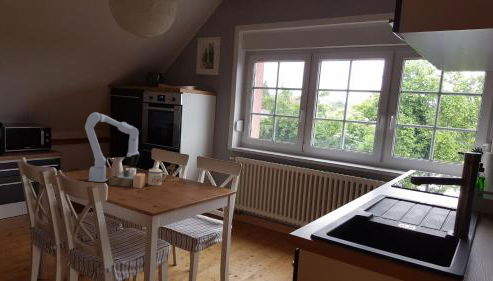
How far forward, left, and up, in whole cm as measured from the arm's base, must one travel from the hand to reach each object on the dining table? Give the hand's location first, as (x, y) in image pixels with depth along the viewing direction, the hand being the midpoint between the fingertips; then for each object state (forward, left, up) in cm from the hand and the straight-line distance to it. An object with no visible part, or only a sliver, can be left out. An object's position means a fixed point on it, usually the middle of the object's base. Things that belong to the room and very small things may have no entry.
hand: (132, 166), depth 230 cm
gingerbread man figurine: (+24, +12, -10) cm, 29 cm away
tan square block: (+10, -13, -10) cm, 19 cm away
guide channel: (0, -13, -10) cm, 16 cm away
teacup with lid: (+18, -2, -10) cm, 21 cm away
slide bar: (+4, -13, -7) cm, 15 cm away
